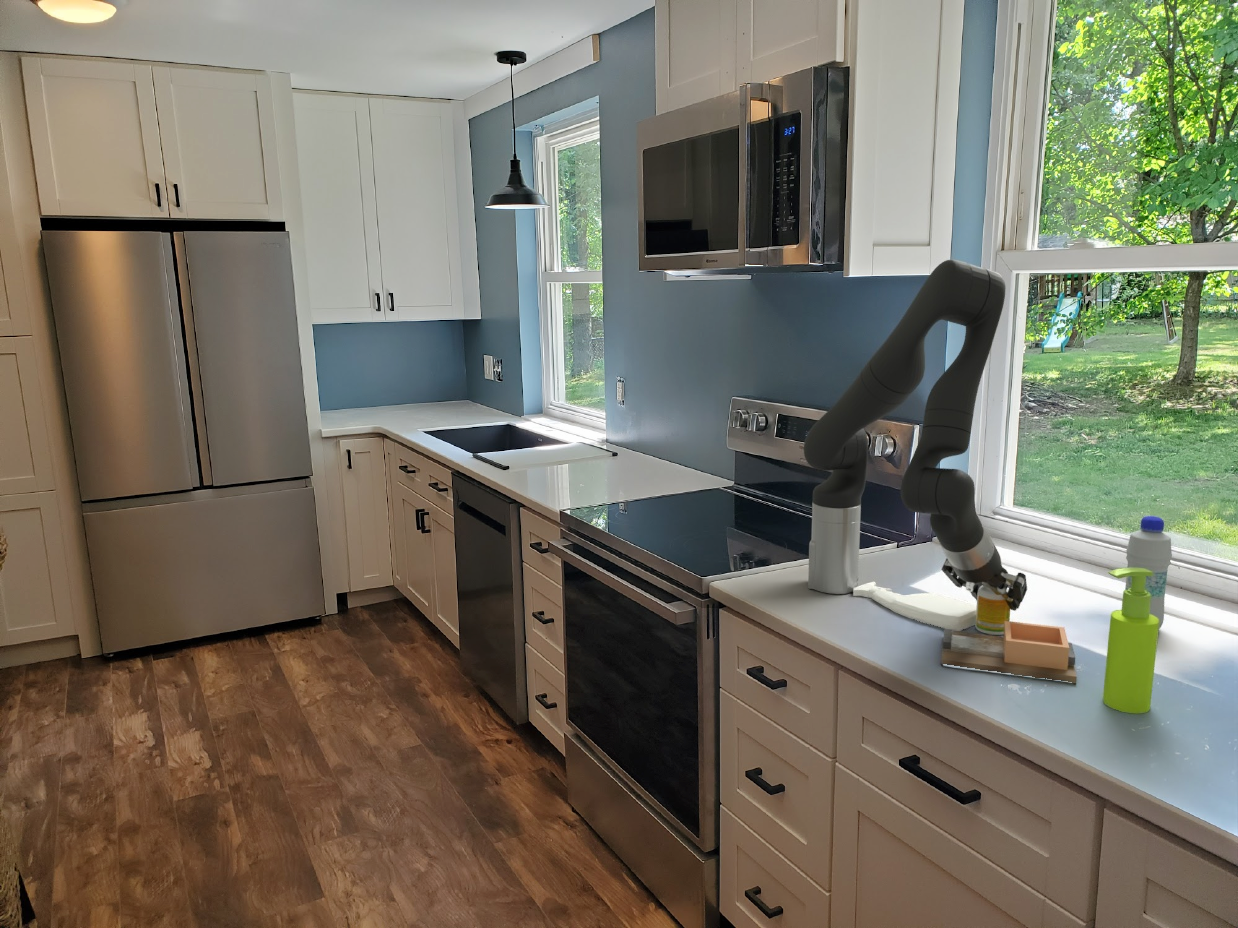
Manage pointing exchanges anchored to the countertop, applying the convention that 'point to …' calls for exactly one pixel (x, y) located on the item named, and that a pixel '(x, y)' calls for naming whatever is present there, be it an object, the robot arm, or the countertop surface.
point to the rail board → (1003, 663)
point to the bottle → (1151, 560)
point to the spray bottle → (923, 606)
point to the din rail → (983, 646)
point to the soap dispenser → (1131, 647)
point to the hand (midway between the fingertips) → (998, 601)
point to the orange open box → (1035, 645)
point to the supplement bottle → (991, 612)
